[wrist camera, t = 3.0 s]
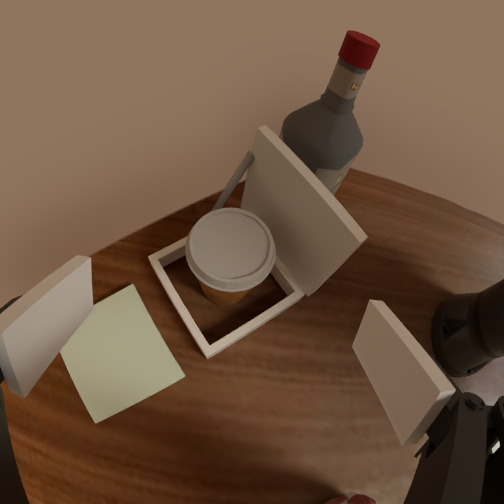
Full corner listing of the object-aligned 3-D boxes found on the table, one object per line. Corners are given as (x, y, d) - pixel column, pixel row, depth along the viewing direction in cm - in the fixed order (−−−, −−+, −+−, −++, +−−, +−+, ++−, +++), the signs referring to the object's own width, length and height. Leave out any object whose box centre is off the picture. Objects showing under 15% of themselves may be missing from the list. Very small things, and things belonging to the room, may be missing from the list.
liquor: (328, 206, 49) (414, 57, 23) (297, 238, 45) (388, 66, 19) (289, 174, 51) (346, 19, 25) (254, 201, 47) (302, 22, 21)
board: (134, 286, 38) (132, 283, 37) (185, 376, 34) (185, 375, 33) (54, 330, 33) (51, 329, 32) (97, 422, 29) (95, 423, 28)
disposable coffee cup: (272, 291, 41) (296, 253, 30) (217, 331, 37) (221, 306, 27) (231, 241, 44) (240, 190, 33) (176, 275, 40) (167, 231, 29)
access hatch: (243, 212, 46) (263, 122, 30) (307, 299, 41) (368, 236, 25) (148, 260, 40) (119, 177, 24) (209, 362, 35) (210, 339, 19)
